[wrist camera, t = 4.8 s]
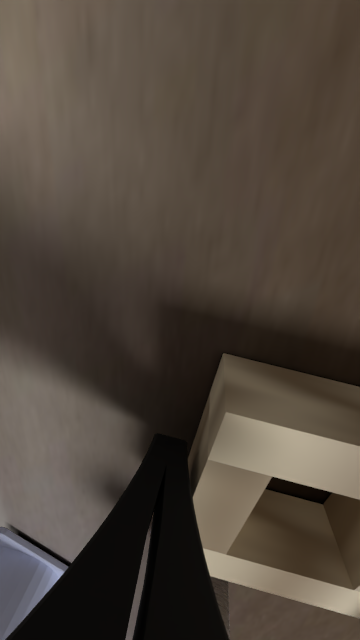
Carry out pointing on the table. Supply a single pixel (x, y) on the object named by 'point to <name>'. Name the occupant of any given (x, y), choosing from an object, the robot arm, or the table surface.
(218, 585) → the steel peg
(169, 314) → the table surface
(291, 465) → the holed block
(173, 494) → the robot arm
